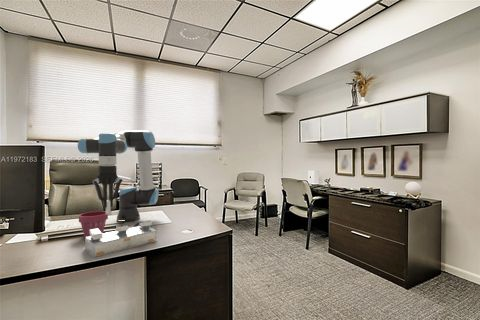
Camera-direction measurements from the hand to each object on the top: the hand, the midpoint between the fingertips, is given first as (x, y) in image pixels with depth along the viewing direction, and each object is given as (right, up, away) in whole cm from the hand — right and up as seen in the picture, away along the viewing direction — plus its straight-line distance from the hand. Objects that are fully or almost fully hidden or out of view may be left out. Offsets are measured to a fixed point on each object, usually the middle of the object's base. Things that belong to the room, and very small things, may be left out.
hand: (108, 213), depth 114 cm
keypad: (+1, -18, +33) cm, 38 cm away
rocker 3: (+12, -9, +16) cm, 22 cm away
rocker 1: (-5, -9, -1) cm, 11 cm away
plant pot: (-21, -18, +22) cm, 35 cm away
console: (+3, -18, +8) cm, 20 cm away
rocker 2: (+3, -9, +7) cm, 12 cm away
